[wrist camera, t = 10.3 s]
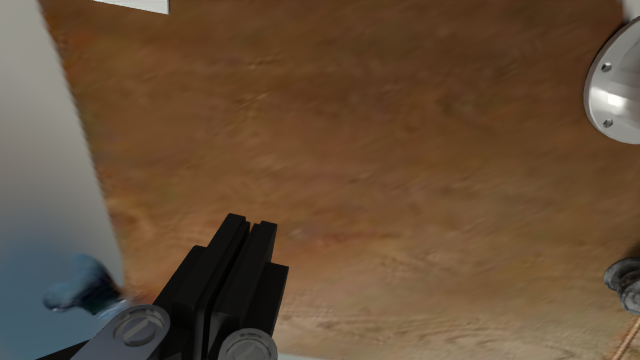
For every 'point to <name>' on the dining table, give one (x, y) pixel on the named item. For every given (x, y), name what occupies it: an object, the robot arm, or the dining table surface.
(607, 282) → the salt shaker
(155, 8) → the mat
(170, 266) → the dining table surface
